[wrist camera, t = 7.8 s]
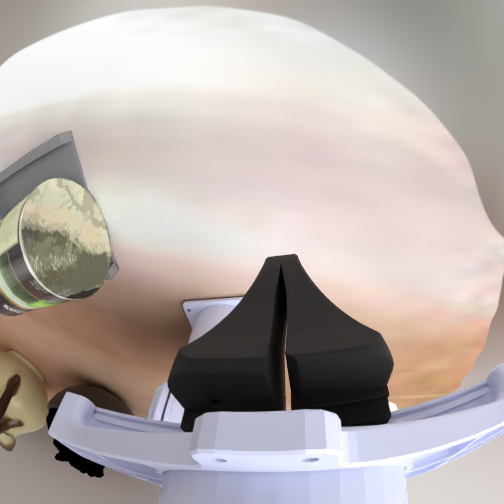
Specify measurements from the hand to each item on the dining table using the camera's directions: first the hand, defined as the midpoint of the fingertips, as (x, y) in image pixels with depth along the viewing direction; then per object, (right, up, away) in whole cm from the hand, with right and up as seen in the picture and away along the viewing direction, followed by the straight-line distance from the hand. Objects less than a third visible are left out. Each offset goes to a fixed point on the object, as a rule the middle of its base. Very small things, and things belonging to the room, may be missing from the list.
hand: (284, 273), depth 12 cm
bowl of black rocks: (-30, -27, +31) cm, 51 cm away
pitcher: (-58, -27, +33) cm, 72 cm away
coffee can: (-16, +2, +6) cm, 17 cm away
